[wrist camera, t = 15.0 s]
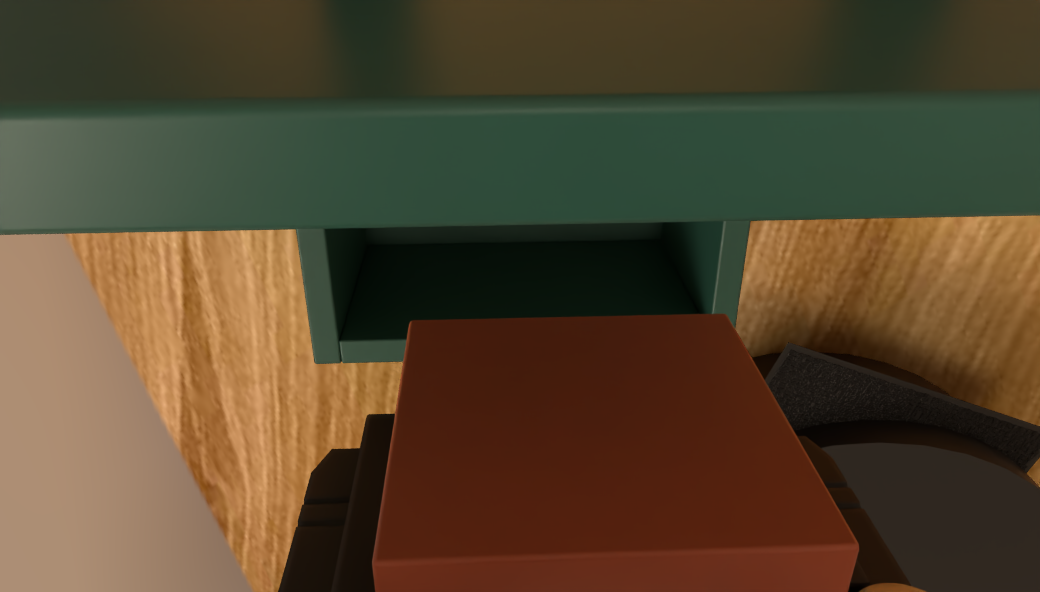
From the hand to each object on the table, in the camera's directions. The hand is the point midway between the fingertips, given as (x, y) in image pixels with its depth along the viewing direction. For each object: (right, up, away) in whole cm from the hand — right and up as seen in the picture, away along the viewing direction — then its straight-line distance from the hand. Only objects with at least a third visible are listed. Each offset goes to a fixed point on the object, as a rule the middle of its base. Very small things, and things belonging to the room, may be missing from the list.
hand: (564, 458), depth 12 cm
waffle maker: (+13, -5, +25) cm, 28 cm away
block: (0, 0, 0) cm, 0 cm away
